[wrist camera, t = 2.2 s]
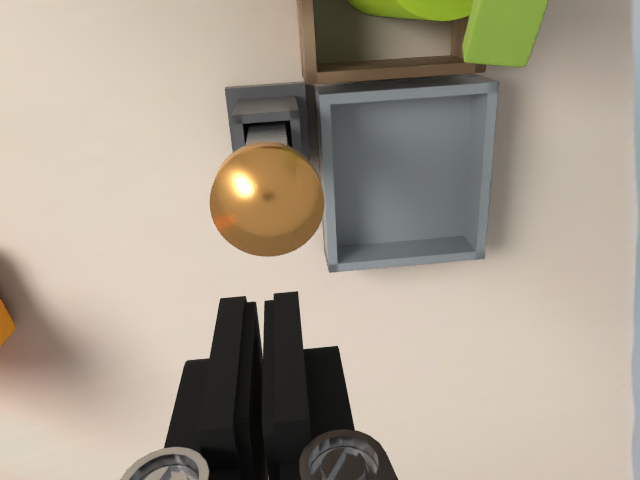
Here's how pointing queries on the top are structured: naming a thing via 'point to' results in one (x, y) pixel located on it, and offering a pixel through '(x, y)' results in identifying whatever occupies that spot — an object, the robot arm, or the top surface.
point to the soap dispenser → (475, 24)
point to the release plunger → (267, 194)
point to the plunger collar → (269, 111)
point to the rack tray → (405, 170)
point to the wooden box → (379, 67)
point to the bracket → (5, 324)
